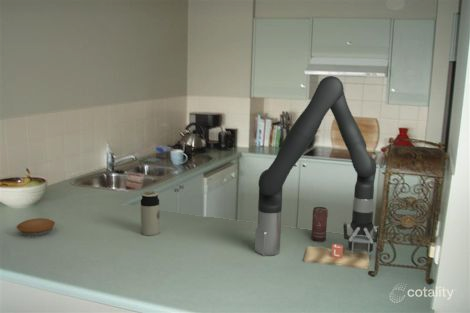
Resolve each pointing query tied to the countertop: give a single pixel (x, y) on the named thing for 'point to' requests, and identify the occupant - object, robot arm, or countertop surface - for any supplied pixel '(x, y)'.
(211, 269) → the countertop surface
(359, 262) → the board
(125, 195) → the countertop surface
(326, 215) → the can
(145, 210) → the travel mug
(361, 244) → the cover
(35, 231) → the pie
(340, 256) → the letter cube
